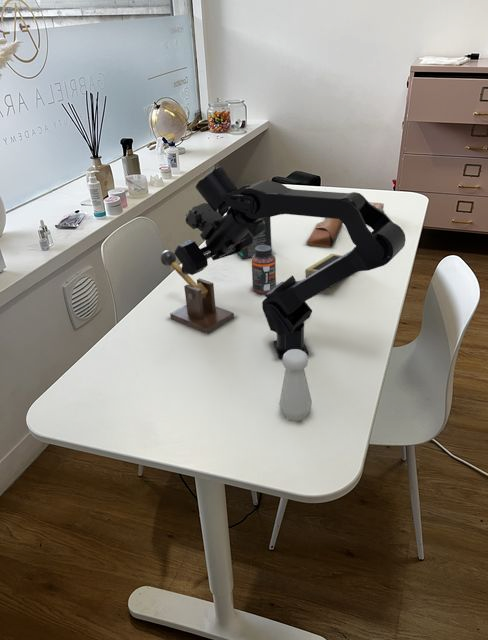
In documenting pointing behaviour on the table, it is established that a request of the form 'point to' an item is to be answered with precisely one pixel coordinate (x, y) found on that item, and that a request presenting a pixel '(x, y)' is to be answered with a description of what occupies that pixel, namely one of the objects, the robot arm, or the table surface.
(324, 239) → the sunglasses case
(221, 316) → the switch bracket
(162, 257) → the lever
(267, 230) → the tampon box
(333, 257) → the box
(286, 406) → the salt shaker
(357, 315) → the table surface
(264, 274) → the supplement bottle
